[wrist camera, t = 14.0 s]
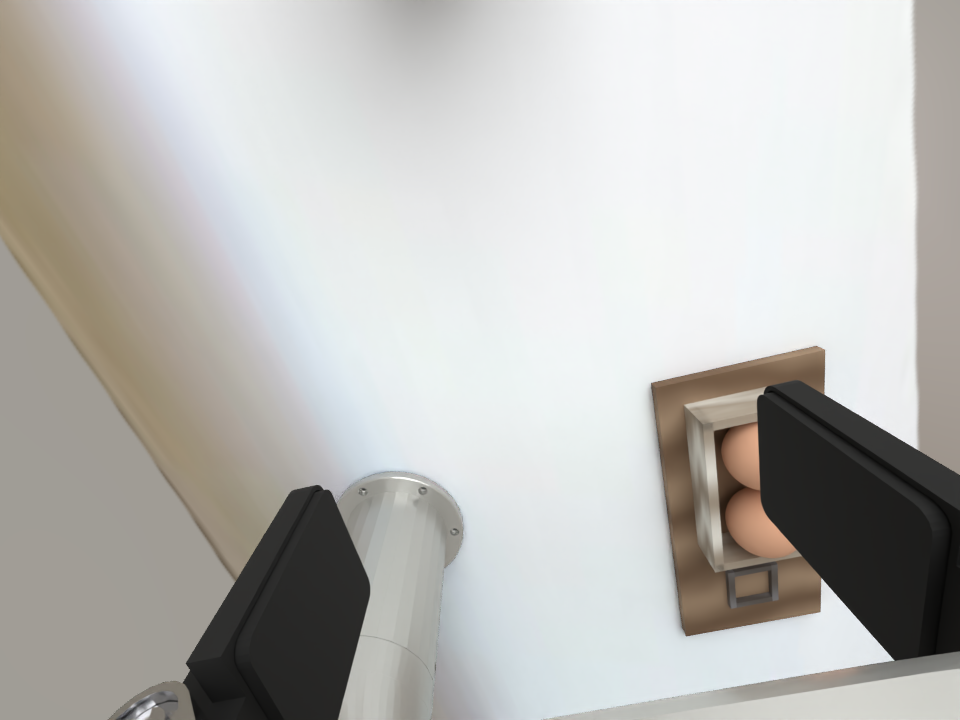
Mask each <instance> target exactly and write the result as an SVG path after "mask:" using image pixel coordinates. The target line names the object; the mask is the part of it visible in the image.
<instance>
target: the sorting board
mask: <svg viewBox="0 0 960 720" xmlns="http://www.w3.org/2000/svg"><path fill="white" fill-rule="evenodd" d="M793 380H799V381H802V382H804V383H805V384H807V385H809V386H810V387H812V388H814V389H815V390H817V391H819V392H820V393H822V394H824V383H825V350H824V349H822V348H820V347H818V346H815V347H810V348H806V349H801V350H797V351H792V352H788V353H783V354H779V355H774V356H770V357H766V358H761V359H757V360H752V361H748V362H743V363H739V364H734V365H730V366H725V367H721V368H716V369H712V370H708V371H703V372H699V373H694V374H690V375H685V376H681V377H676V378H672V379H667V380H663V381H658V382H654V383H651V385H652V393H653V400H654V408H655V416H656V424H657V432H658V440H659V448H660V456H661V464H662V472H663V479H664V487H665V495H666V503H667V511H668V519H669V527H670V535H671V543H672V550H673V558H674V566H675V574H676V582H677V590H678V598H679V606H680V614H681V622H682V628H683V631H684V633H685V635H686V636H691V635H696V634H702V633H707V632H713V631H718V630H724V629H730V628H735V627H741V626H746V625H752V624H757V623H763V622H768V621H774V620H779V619H785V618H790V617H796V616H801V615H807V614H812V613H818V612H820V608H821V577H820V576H819V575H818V573H817V572H816V571H815V570H814V569H813V568H812V567H811V566H810V564H809V563H808V562H807V561H806V560H805V559H804V558H803V557H802V555H801V554H800V553H799V552H798V551H797V550H796V551H794V552H793V553H791V554H790V555H787V556H785V557H781V558H764V557H760V556H757V555H754V554H752V553H750V552H748V551H747V550H745V549H744V548H742V547H741V546H740V545H739V544H738V543H737V542H736V541H735V540H734V539H733V537H732V536H731V534H730V532H729V530H728V527H727V524H726V520H725V512H726V507H727V504H728V502H729V500H730V499H731V498H732V496H733V495H734V494H735V493H737V492H738V491H740V490H741V489H744V488H746V487H747V486H745V485H743V484H742V483H740V482H739V481H737V480H736V479H735V478H734V477H733V476H732V475H731V474H730V473H729V471H728V470H727V468H726V467H725V464H724V462H723V459H722V454H721V447H722V442H723V439H724V437H725V435H726V433H727V432H728V430H729V429H730V428H731V427H734V426H738V425H743V424H748V423H752V422H757V398H758V396H759V395H762V394H764V390H765V388H766V387H767V386H770V385H775V384H780V383H784V382H789V381H793Z"/></svg>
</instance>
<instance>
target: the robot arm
mask: <svg viewBox="0 0 960 720" xmlns="http://www.w3.org/2000/svg"><path fill="white" fill-rule="evenodd" d="M757 422H758V447H759V473H760V498H761V504H762V507H763V510H764V512H765V514H766V515H767V517H768V518H769V519H770V520H771V522H772V523H773V524H774V525H775V526H776V527H777V528H778V529H779V531H780V532H781V533H782V534H783V535H784V536H785V537H786V538H787V540H788V541H789V542H790V543H791V544H792V545H793V546H794V548H795V549H796V550H797V551H798V552H799V553H800V554H801V555H802V557H803V558H804V559H805V560H806V561H807V562H808V563H809V564H810V566H811V567H812V568H813V569H814V570H815V571H816V572H817V573H818V575H819V576H820V577H821V578H822V579H823V580H824V581H825V582H826V584H827V585H828V586H829V587H830V588H831V589H832V590H833V592H834V593H835V594H836V595H837V596H838V597H839V598H840V599H841V601H842V602H843V603H844V604H845V605H846V606H847V607H848V608H849V610H850V611H851V612H852V613H853V614H854V615H855V616H856V617H857V619H858V620H859V621H860V622H861V623H862V624H863V625H864V626H865V628H866V629H867V630H868V631H869V632H870V633H871V634H872V636H873V637H874V638H875V639H876V640H877V641H878V642H879V643H880V645H881V646H882V647H883V648H884V649H885V650H886V651H887V652H888V654H889V655H890V656H891V657H892V658H893V659H894V660H895V661H890V662H884V663H877V664H870V665H864V666H858V667H852V668H846V669H840V670H834V671H828V672H822V673H816V674H810V675H804V676H798V677H792V678H786V679H779V680H773V681H767V682H761V683H755V684H749V685H743V686H737V687H731V688H725V689H719V690H713V691H707V692H701V693H695V694H689V695H683V696H677V697H671V698H665V699H660V700H654V701H648V702H642V703H636V704H630V705H624V706H618V707H613V708H607V709H601V710H595V711H589V712H583V713H578V714H572V715H566V716H560V717H554V718H549V719H543V720H960V475H959V474H957V473H955V472H954V471H952V470H950V469H949V468H947V467H945V466H943V465H942V464H940V463H938V462H937V461H935V460H933V459H932V458H930V457H928V456H927V455H925V454H923V453H922V452H920V451H918V450H917V449H915V448H913V447H912V446H910V445H908V444H906V443H905V442H903V441H901V440H900V439H898V438H896V437H895V436H893V435H891V434H890V433H888V432H886V431H885V430H883V429H881V428H879V427H878V426H876V425H874V424H873V423H871V422H869V421H868V420H866V419H864V418H863V417H861V416H859V415H858V414H856V413H854V412H853V411H851V410H849V409H847V408H846V407H844V406H842V405H841V404H839V403H837V402H836V401H834V400H832V399H831V398H829V397H827V396H826V395H824V394H822V393H820V392H819V391H817V390H815V389H814V388H812V387H810V386H809V385H807V384H805V383H804V382H802V381H799V380H793V381H789V382H784V383H780V384H775V385H770V386H767V387H766V388H765V390H764V394H762V395H759V396H758V398H757ZM462 539H463V520H462V516H461V513H460V510H459V507H458V506H457V504H456V502H455V501H454V499H453V498H452V497H451V496H450V494H449V493H448V492H447V491H446V490H445V489H443V488H442V487H441V486H439V485H438V484H437V483H435V482H433V481H431V480H429V479H427V478H425V477H422V476H419V475H416V474H412V473H405V472H384V473H378V474H374V475H371V476H368V477H366V478H363V479H361V480H360V481H358V482H356V483H355V484H353V485H352V486H351V487H350V488H348V489H347V490H346V491H345V492H344V494H343V495H342V496H341V498H340V499H339V501H338V503H337V504H336V502H335V500H334V497H333V495H332V493H331V492H330V491H329V490H323V488H322V487H321V486H319V485H315V486H310V487H306V488H301V489H297V490H293V491H291V492H290V494H289V495H288V497H287V498H286V500H285V502H284V503H283V505H282V507H281V508H280V510H279V512H278V513H277V515H276V516H275V518H274V520H273V521H272V523H271V525H270V526H269V528H268V530H267V531H266V533H265V534H264V536H263V538H262V539H261V541H260V543H259V544H258V546H257V548H256V549H255V551H254V552H253V554H252V556H251V557H250V559H249V561H248V562H247V564H246V566H245V567H244V569H243V571H242V572H241V574H240V575H239V577H238V579H237V580H236V582H235V584H234V585H233V587H232V589H231V590H230V592H229V593H228V595H227V597H226V599H225V600H224V602H223V603H222V605H221V607H220V608H219V610H218V612H217V613H216V615H215V616H214V618H213V620H212V621H211V623H210V625H209V626H208V628H207V630H206V631H205V633H204V635H203V636H202V638H201V639H200V641H199V643H198V644H197V646H196V648H195V649H194V651H193V652H192V654H191V656H190V658H189V659H188V661H187V662H186V664H187V666H188V667H189V669H190V672H189V673H188V675H187V677H186V679H185V680H184V682H183V683H180V682H177V681H170V682H163V683H161V684H158V685H155V686H152V687H150V688H148V689H146V690H145V691H143V692H141V693H140V694H138V695H136V696H135V697H133V698H132V699H131V700H129V701H128V702H127V703H126V704H124V705H123V706H122V707H120V709H118V710H117V711H116V712H115V713H114V714H113V715H112V716H111V717H110V718H109V719H108V720H431V717H432V705H433V693H434V682H435V670H436V658H437V646H438V634H439V622H440V610H441V598H442V586H443V574H444V568H446V567H447V566H448V565H449V564H450V563H451V562H452V561H453V559H454V558H455V557H456V555H457V553H458V551H459V549H460V547H461V543H462Z"/></svg>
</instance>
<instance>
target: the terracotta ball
mask: <svg viewBox="0 0 960 720" xmlns="http://www.w3.org/2000/svg"><path fill="white" fill-rule="evenodd" d="M725 520H726V524H727V527H728V530H729V532H730V534H731V536H732V537H733V539H734V540H735V541H736V542H737V543H738V544H739V545H740V546H741V547H742V548H744V549H745V550H747V551H748V552H750V553H752V554H754V555H757V556H760V557H764V558H781V557H785V556H787V555H790V554H791V553H793V552H794V551H796V549H795V548H794V546H793V545H792V544H791V543H790V542H789V541H788V540H787V538H786V537H785V536H784V535H783V534H782V533H781V532H780V531H779V529H778V528H777V527H776V526H775V525H774V524H773V523H772V522H771V520H770V519H769V518H768V517H767V515H766V514H765V512H764V510H763V507H762V504H761V498H760V491H759V490H755V489H752V488H749V487H746V488H744V489H741V490H740V491H738V492H737V493H735V494H734V495H733V496H732V498H731V499H730V500H729V502H728V504H727V507H726V512H725Z"/></svg>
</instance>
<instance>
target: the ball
mask: <svg viewBox="0 0 960 720" xmlns="http://www.w3.org/2000/svg"><path fill="white" fill-rule="evenodd" d="M721 454H722V459H723V462H724V464H725V467H726V468H727V470H728V471H729V473H730V474H731V475H732V476H733V477H734V478H735V479H736V480H737V481H739V482H740V483H742V484H743V485H745V486H747V487H749V488H752V489H755V490H759V491H760V473H759V447H758V422H752V423H748V424H743V425H738V426H734V427H731V428H730V429H729V430H728V432H727V433H726V435H725V437H724V439H723V442H722V447H721Z"/></svg>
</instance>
